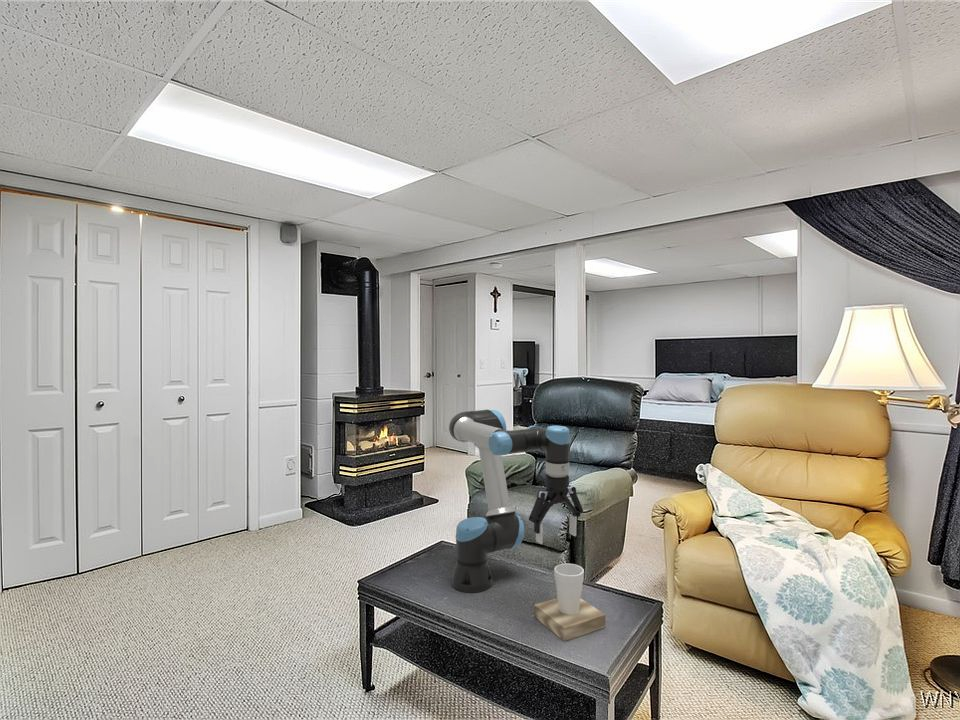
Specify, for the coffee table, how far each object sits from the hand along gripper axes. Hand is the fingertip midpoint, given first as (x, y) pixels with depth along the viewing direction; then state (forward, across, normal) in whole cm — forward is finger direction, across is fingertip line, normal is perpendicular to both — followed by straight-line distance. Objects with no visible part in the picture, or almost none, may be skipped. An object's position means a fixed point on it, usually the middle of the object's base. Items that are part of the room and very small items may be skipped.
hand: (556, 538), depth 170 cm
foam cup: (+22, +2, -5) cm, 23 cm away
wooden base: (+26, +2, -6) cm, 26 cm away
